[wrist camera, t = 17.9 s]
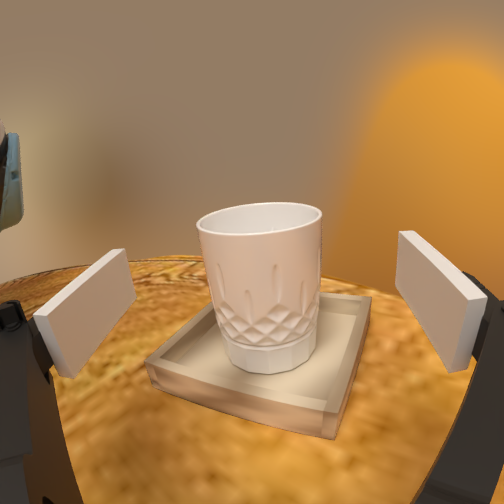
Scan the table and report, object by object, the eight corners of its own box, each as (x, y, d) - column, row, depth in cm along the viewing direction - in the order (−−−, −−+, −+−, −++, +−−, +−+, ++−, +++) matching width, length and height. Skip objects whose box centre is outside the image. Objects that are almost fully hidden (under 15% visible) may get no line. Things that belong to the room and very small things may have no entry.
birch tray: (153, 387, 21) (143, 361, 21) (236, 304, 32) (233, 282, 32) (334, 440, 16) (337, 413, 15) (369, 321, 27) (371, 297, 26)
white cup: (196, 353, 24) (171, 225, 20) (263, 310, 29) (253, 199, 26) (280, 397, 18) (268, 242, 15) (341, 335, 24) (343, 207, 21)
